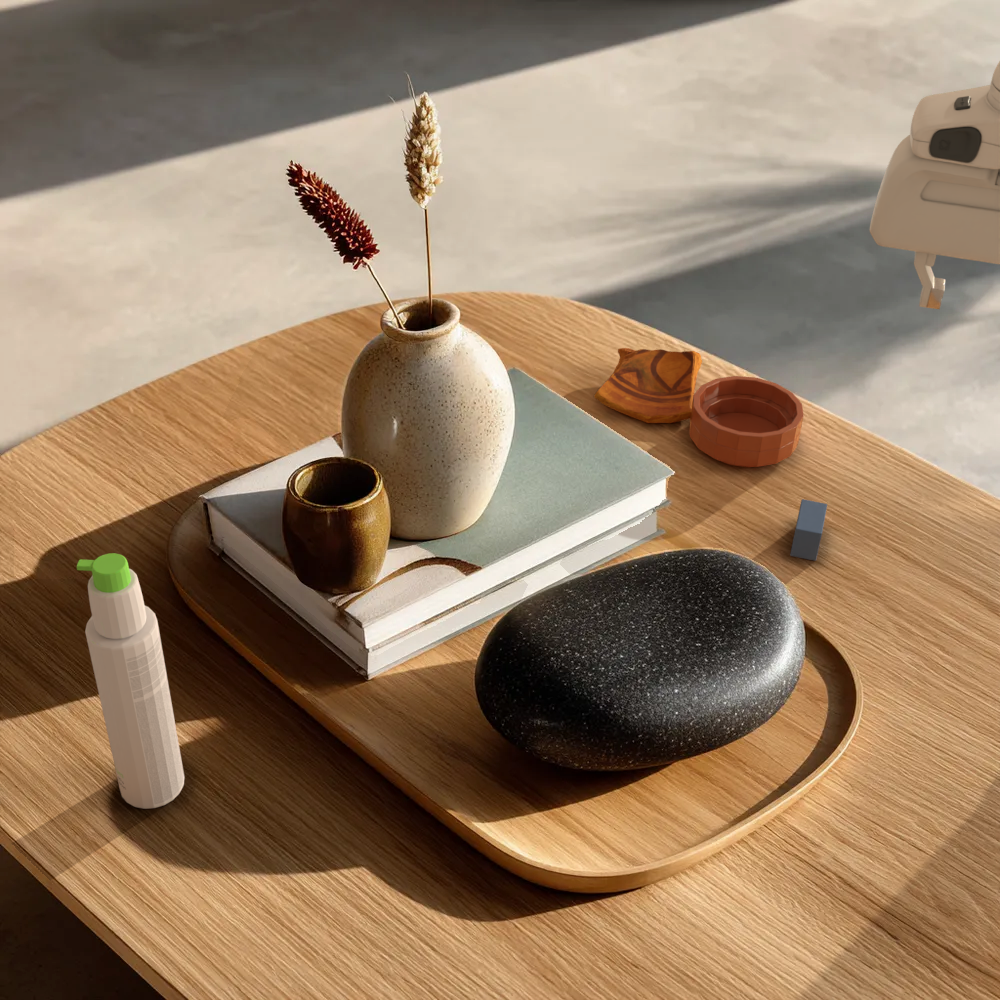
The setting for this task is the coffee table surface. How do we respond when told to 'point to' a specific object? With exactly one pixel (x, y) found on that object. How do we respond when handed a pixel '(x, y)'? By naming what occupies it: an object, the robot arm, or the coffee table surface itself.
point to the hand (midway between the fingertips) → (996, 315)
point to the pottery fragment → (652, 385)
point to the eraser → (808, 530)
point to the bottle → (132, 684)
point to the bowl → (745, 421)
